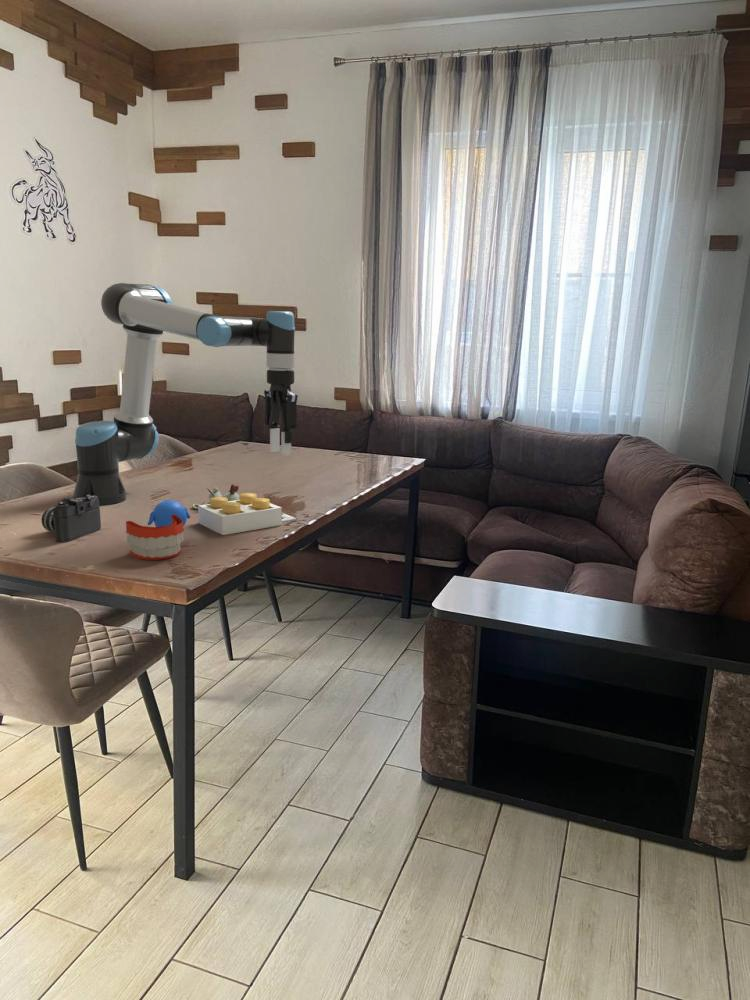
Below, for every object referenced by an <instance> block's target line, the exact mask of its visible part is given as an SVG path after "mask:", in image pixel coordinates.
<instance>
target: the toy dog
mask: <svg viewBox="0 0 750 1000" xmlns="http://www.w3.org/2000/svg"><path fill="white" fill-rule="evenodd" d="M239 490H240V487H239V485H235V484H231V485H230V489H229V490H228V491H227V492H226V493H224V494H223V495H222V492H220V491H219V488H218V487H217V486H216V487H213V489H212V490H211V488H207V491H208V492H209V494H208V500H209V501H210V498H213V497H226V498H228V501H234V500H239V495H240V494H238V493H237V492H238V491H239ZM206 504H210V502H208V501H206V502H204V503H203V504H202V505H206ZM198 505H200V504H198V503H193V504H192V508H193V509H194V510H198Z"/></svg>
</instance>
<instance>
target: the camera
mask: <svg viewBox="0 0 750 1000" xmlns="http://www.w3.org/2000/svg"><path fill="white" fill-rule="evenodd" d="M100 508H101V507H100V505H99V498H98V496H89V495H87V497H86V498H73V497H69V496H68V497H65V498H63V499H62V500H61V501H59V502H57V504H55V506H54V507H53V506H52V507H49V508H48V509H46V510H45V511H44V512H43V514H42V516H41V519H40V520H41V525H42V527H43V528H44V529H45V530H46V531H47V532H50V533H53V534H54V539H55V541H56V542H58V543H59V542H60V543H66V542H70V541H73V540H76V539H79V538H82V537H84V536H87V535H90V534H93V533H96V532H99V531H101V529H102V525H101V524H102V523H101V521H102V520H101V509H100Z"/></svg>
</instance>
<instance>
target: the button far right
mask: <svg viewBox="0 0 750 1000" xmlns="http://www.w3.org/2000/svg"><path fill="white" fill-rule="evenodd" d="M238 495H239V503H240V504H243V505H249V504H252V499H255V498H258V497H257V494H256V493H253V492H246V493H245V492H244V493H240V494H238Z"/></svg>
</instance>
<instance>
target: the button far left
mask: <svg viewBox="0 0 750 1000" xmlns="http://www.w3.org/2000/svg"><path fill="white" fill-rule="evenodd" d="M226 502H228V498H226V497H213V498H210V500H209V504H210V508H213V509H221V508H222V504H223V503H226Z"/></svg>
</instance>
